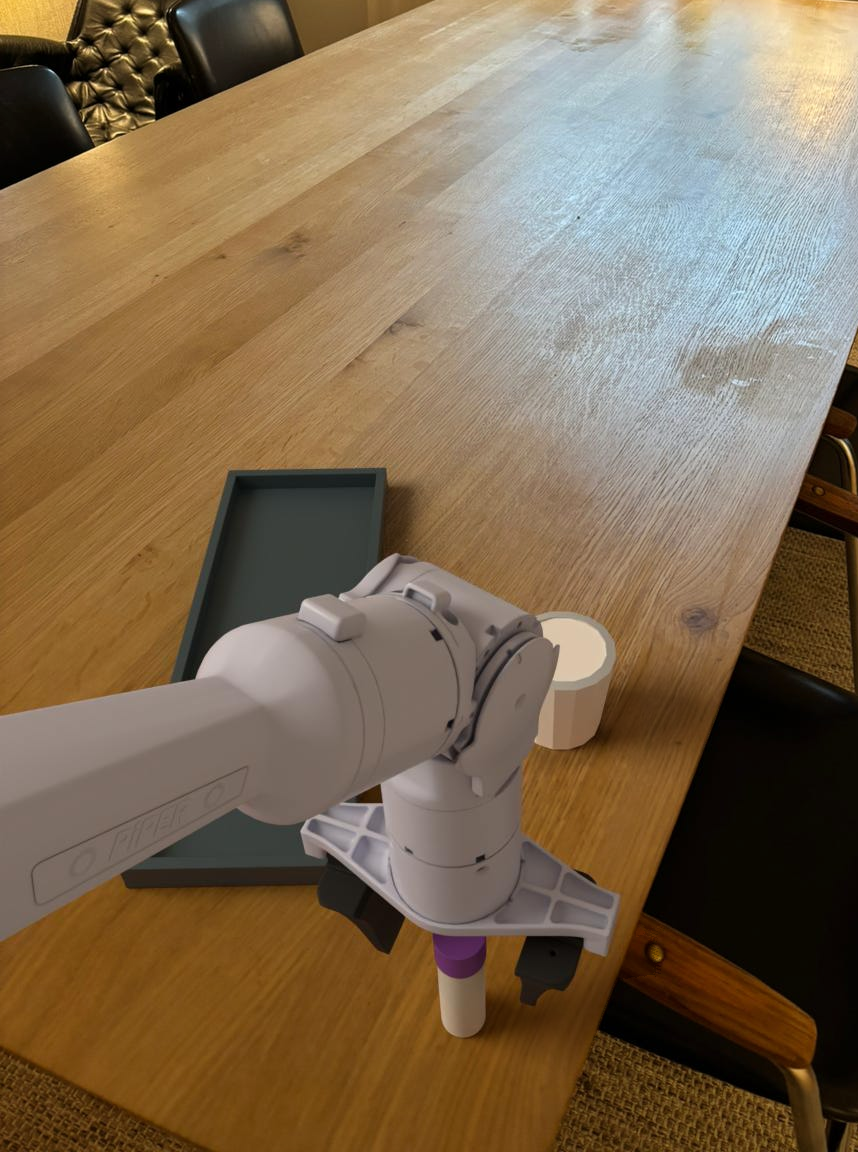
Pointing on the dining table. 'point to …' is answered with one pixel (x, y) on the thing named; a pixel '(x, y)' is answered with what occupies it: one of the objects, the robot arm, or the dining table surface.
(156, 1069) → the dining table surface
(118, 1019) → the dining table surface
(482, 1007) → the glue stick
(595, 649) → the white cup
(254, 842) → the desk tray
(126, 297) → the dining table surface
